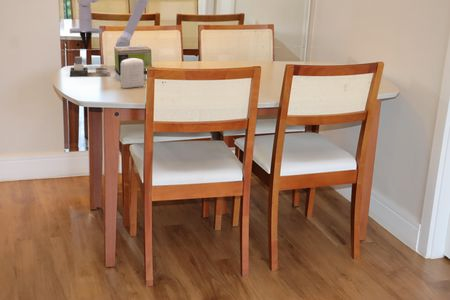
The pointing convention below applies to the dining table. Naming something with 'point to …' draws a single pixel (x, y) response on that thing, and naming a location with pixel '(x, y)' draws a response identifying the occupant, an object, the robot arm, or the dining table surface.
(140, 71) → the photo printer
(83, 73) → the panel
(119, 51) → the tea box
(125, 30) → the robot arm
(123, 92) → the dining table surface
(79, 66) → the plug
